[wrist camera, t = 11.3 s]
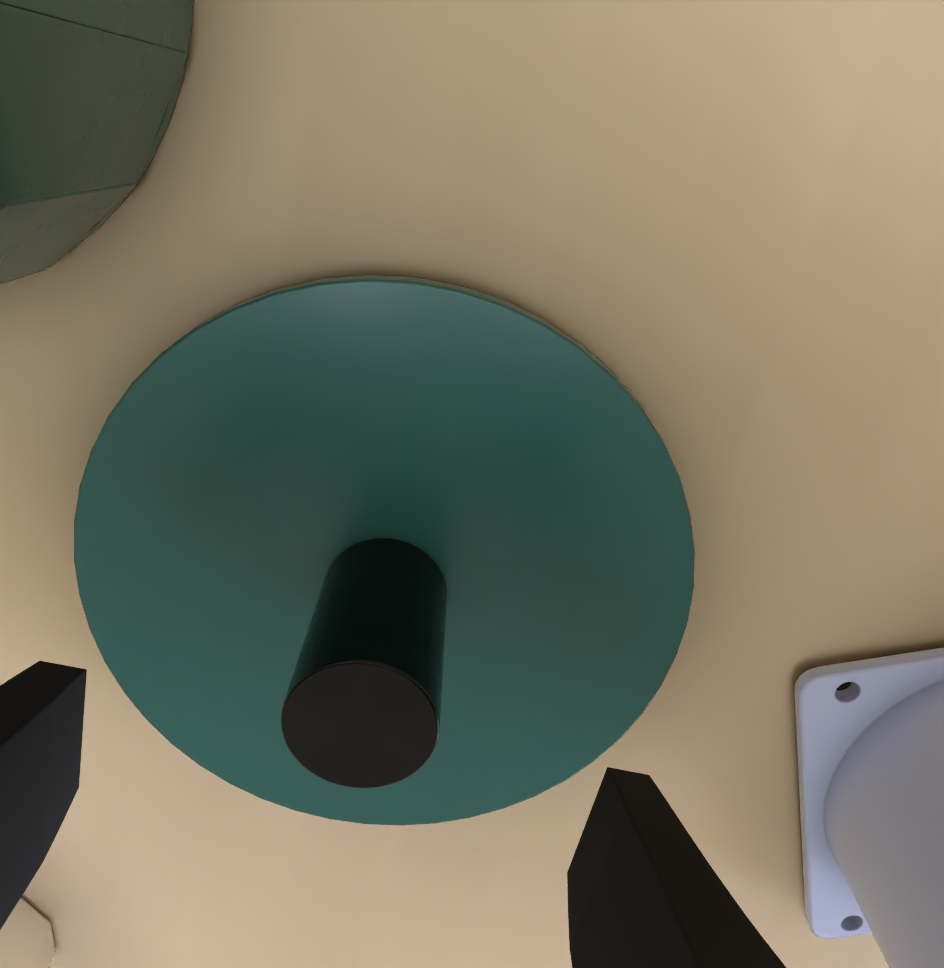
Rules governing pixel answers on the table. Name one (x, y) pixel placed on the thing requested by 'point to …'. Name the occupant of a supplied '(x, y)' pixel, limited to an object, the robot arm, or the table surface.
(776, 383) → the table surface
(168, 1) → the tin
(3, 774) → the robot arm
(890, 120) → the table surface
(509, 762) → the lid
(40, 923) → the milkshake
